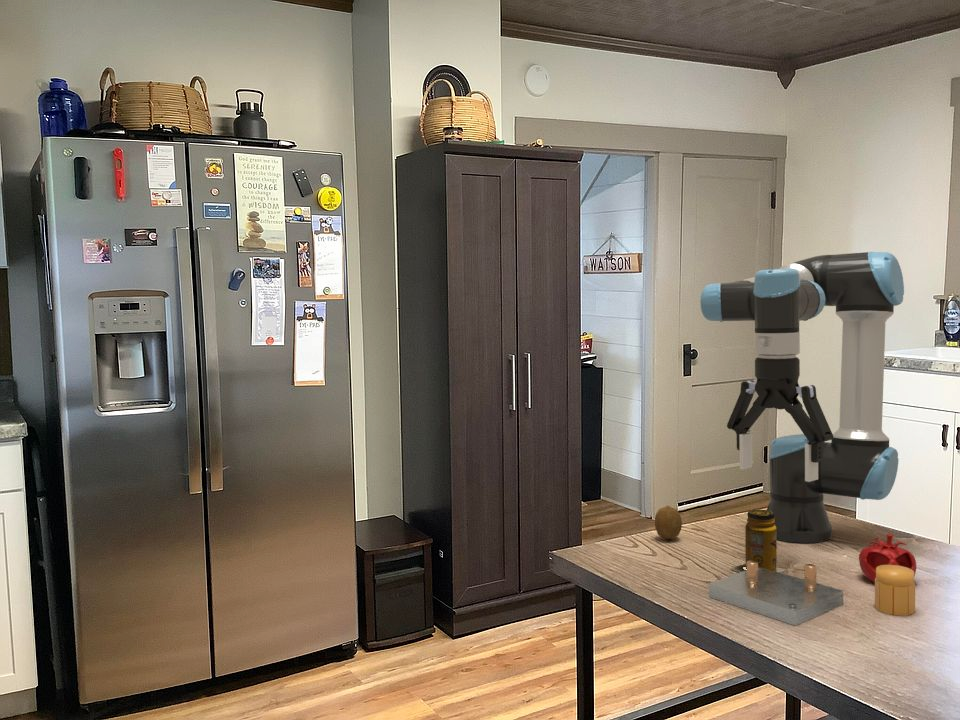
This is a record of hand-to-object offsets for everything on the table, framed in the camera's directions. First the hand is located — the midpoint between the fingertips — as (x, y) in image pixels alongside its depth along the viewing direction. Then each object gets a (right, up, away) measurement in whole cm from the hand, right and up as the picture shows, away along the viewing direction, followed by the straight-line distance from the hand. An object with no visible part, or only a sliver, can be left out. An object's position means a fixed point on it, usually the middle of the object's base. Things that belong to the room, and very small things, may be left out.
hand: (777, 474), depth 147 cm
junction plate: (+1, -24, +4) cm, 24 cm away
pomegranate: (+26, -23, +12) cm, 36 cm away
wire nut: (+20, -24, -2) cm, 31 cm away
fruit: (-10, -21, +43) cm, 49 cm away
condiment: (+3, -23, +20) cm, 31 cm away
